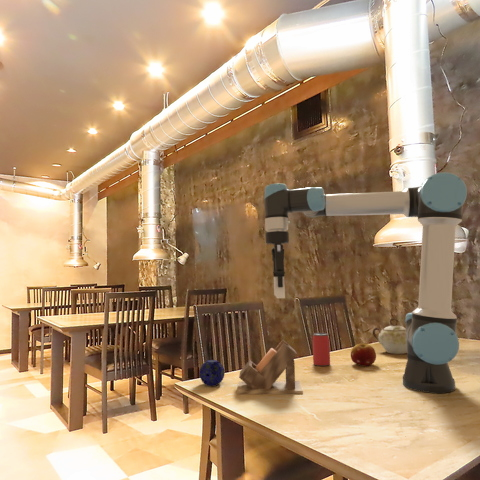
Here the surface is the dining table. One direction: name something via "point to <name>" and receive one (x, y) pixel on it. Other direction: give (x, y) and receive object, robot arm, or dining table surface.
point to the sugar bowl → (392, 338)
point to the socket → (271, 374)
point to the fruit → (363, 354)
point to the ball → (211, 372)
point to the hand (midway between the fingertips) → (279, 296)
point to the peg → (265, 360)
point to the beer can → (321, 349)
